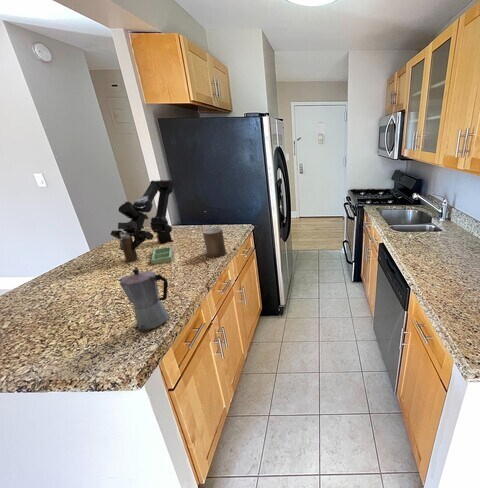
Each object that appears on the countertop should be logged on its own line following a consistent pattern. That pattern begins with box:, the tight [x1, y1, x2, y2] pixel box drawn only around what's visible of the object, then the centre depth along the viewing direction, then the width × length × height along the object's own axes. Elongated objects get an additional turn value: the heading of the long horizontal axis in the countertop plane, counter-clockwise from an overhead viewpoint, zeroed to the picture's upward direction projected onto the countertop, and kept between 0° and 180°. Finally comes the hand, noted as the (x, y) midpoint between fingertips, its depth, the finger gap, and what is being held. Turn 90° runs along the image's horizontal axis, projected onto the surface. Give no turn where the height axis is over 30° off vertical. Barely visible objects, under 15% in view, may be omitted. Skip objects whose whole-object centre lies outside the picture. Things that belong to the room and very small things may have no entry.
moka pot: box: [117, 268, 169, 331], centre depth 85 cm, size 10×15×20 cm, turn 95°
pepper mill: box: [118, 234, 139, 263], centre depth 132 cm, size 5×5×14 cm
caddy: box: [150, 246, 173, 265], centre depth 137 cm, size 16×8×3 cm, turn 28°
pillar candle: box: [202, 227, 227, 258], centre depth 139 cm, size 10×10×15 cm
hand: (127, 250), depth 130 cm, fingers closed on pepper mill, 5 cm apart
